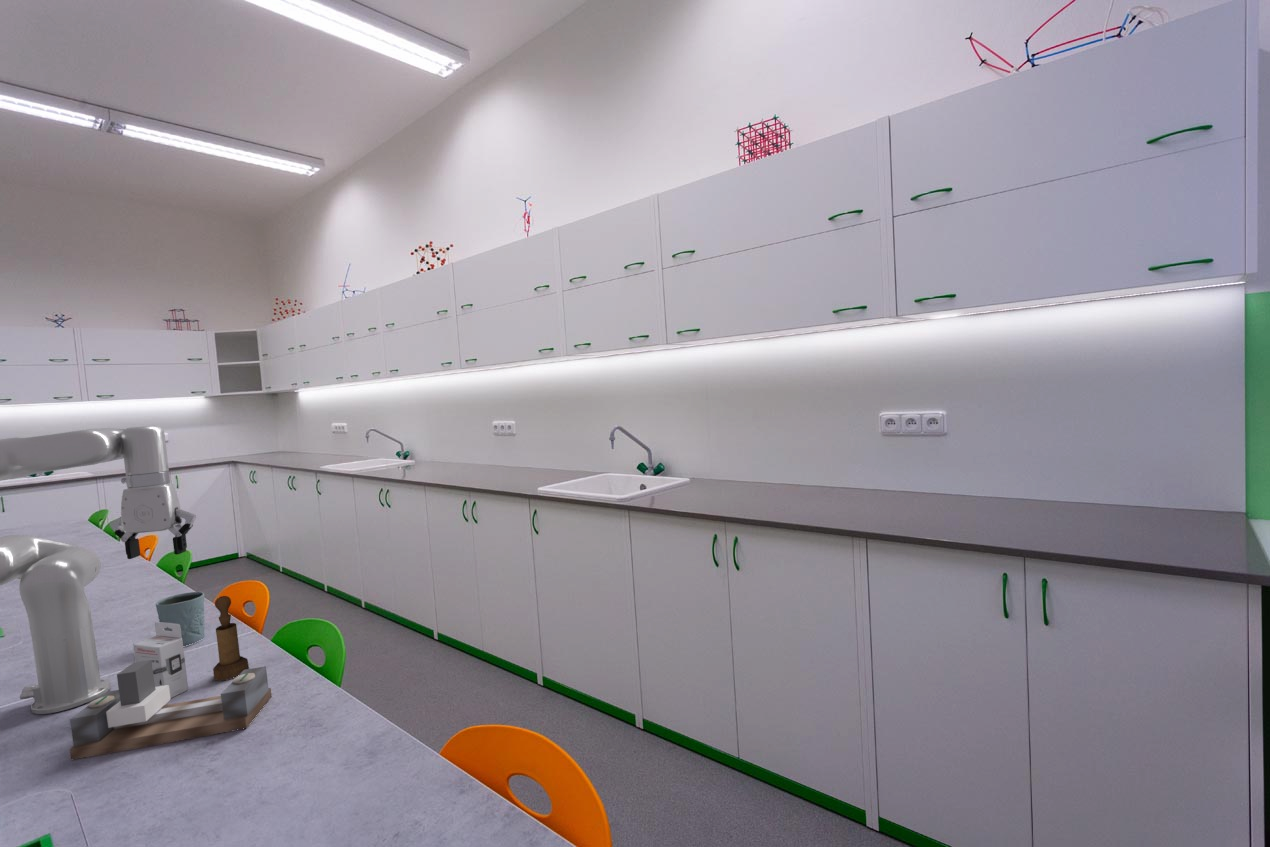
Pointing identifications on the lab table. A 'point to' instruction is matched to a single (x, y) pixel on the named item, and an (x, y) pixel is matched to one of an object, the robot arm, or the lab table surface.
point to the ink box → (165, 657)
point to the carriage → (137, 695)
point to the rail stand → (170, 718)
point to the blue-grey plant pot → (184, 615)
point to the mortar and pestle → (227, 644)
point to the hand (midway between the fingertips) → (157, 555)
